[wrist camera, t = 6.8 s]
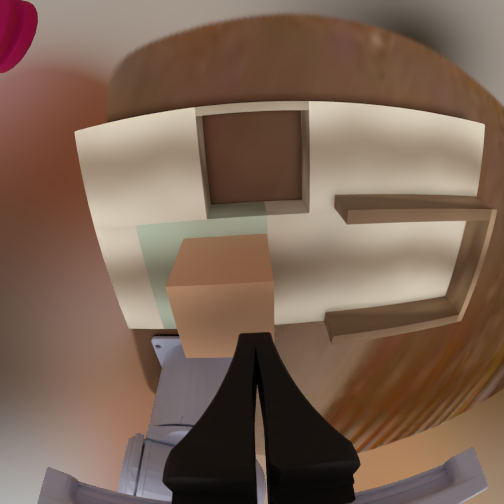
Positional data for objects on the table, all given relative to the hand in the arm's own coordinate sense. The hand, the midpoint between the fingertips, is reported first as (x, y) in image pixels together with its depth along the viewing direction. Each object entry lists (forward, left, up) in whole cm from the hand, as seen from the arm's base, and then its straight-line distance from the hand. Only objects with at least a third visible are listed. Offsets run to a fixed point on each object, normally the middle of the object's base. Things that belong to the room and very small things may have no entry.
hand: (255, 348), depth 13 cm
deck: (+3, -4, -9) cm, 10 cm away
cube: (0, +1, -7) cm, 7 cm away
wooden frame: (0, -11, -7) cm, 13 cm away
